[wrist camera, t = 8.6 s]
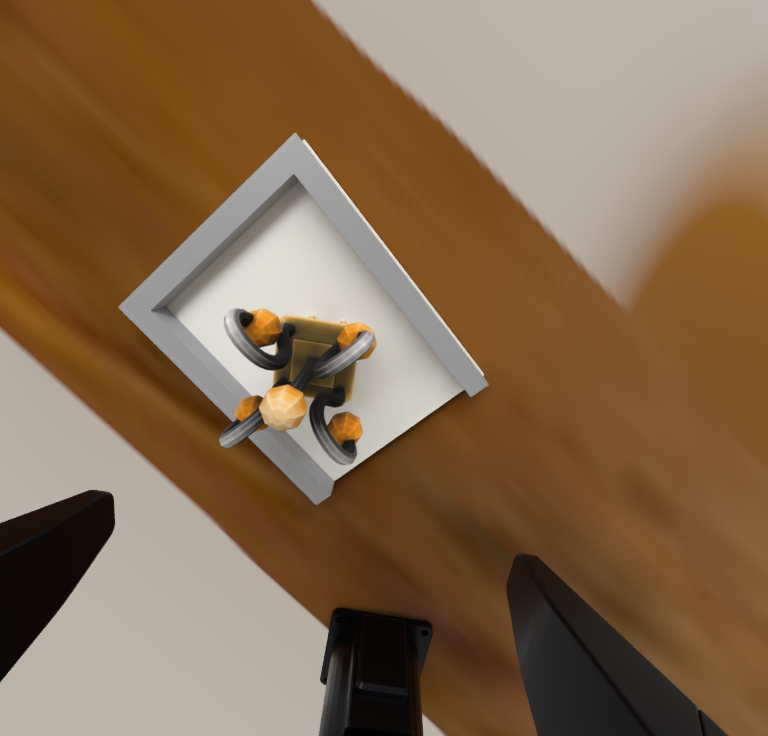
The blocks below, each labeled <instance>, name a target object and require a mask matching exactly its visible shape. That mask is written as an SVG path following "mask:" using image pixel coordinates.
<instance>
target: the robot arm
mask: <svg viewBox="0 0 768 736" xmlns="http://www.w3.org/2000/svg"><path fill="white" fill-rule="evenodd" d="M114 526H115V514H114V498H113V495H112V494H111V493H109V492H105V491H98V490H89V491H86V492H83V493H81V494H78V495H75V496H73V497H70V498H67V499H64V500H62V501H59V502H56V503H54V504H51V505H48V506H45V507H43V508H40V509H38V510H35V511H32V512H29V513H27V514H24V515H21V516H19V517H16V518H13V519H10V520H8V521H5V522H2V523H0V682H1V680H2V679H3V678H4V677H5V676H6V675H7V673H8V672H9V671H10V670H11V668H12V667H13V666H14V665H15V664H16V662H17V661H18V659H20V657H21V656H22V655H23V654H24V653H25V651H26V650H27V649H28V648H29V646H30V645H31V644H32V643H33V641H34V640H35V639H36V638H37V636H38V635H39V634H40V633H41V632H42V630H43V629H44V628H45V627H46V625H47V624H48V623H49V622H50V621H51V619H52V618H53V617H54V616H55V614H56V613H57V612H58V611H59V609H60V608H61V607H62V605H63V604H64V603H65V601H66V600H67V599H68V597H69V595H70V594H71V593H72V592H73V590H74V589H75V587H76V586H77V584H78V583H79V581H80V580H81V579H82V577H83V576H84V574H85V573H86V571H87V570H88V568H89V567H90V565H91V564H92V562H93V561H94V560H95V558H96V556H97V555H98V554H99V552H100V551H101V549H102V548H103V546H104V545H105V543H106V542H107V541H108V539H109V538H110V536H111V534H112V532H113V530H114ZM507 597H508V602H509V608H510V614H511V620H512V626H513V631H514V637H515V643H516V649H517V655H518V660H519V665H520V670H521V674H522V678H523V682H524V686H525V689H526V693H527V697H528V701H529V704H530V708H531V712H532V715H533V719H534V723H535V726H536V730H537V734H538V736H728V735H727V734H726V733H725V732H724V731H723V730H722V729H721V728H720V727H719V726H718V725H717V724H716V723H715V722H713V721H712V720H711V719H710V718H709V717H708V716H707V715H706V714H705V713H704V712H703V711H701V710H698V709H697V706H696V705H695V704H694V703H693V702H692V701H691V700H690V699H689V698H688V697H687V696H686V695H684V694H683V693H682V692H681V691H680V690H679V689H678V688H677V687H676V686H675V685H674V684H673V683H672V682H671V681H670V680H668V679H667V678H666V677H665V676H664V675H663V674H662V673H661V672H660V671H659V670H658V669H657V668H656V667H655V666H654V665H652V664H651V663H650V662H649V661H648V660H647V659H646V658H645V657H644V656H643V655H642V654H641V653H640V652H639V651H638V650H636V649H635V648H634V647H633V646H632V645H631V644H630V643H629V642H628V641H627V640H626V639H625V638H624V637H623V636H621V635H620V634H619V633H618V632H617V631H616V630H615V629H614V628H613V627H612V626H611V625H610V624H609V623H608V622H607V621H605V620H604V619H603V618H602V617H601V616H600V615H599V614H598V613H597V612H596V611H595V610H594V609H593V608H592V607H591V606H589V605H588V604H587V603H586V602H585V601H584V600H583V599H582V598H581V597H580V596H579V595H578V594H577V593H576V592H575V591H573V590H572V589H571V588H570V587H569V586H568V585H567V584H566V583H565V582H564V581H563V580H562V579H561V578H560V577H559V576H557V575H556V574H555V573H554V572H553V571H552V570H551V569H550V568H549V567H548V566H547V565H546V564H545V563H544V562H543V561H541V560H540V559H539V558H538V557H537V556H535V555H529V554H523V553H519V554H517V555H516V557H515V559H514V562H513V565H512V568H511V571H510V574H509V577H508V581H507ZM432 634H433V632H432V625H431V624H430V623H429V622H426V621H420V620H414V619H408V618H401V617H395V616H388V615H382V614H375V613H369V612H363V611H356V610H350V609H343V608H337V609H335V610H333V612H332V617H331V622H330V628H329V633H328V640H327V645H326V650H325V656H324V661H323V666H322V672H321V678H320V681H321V683H323V684H324V685H326V692H325V698H324V705H323V711H322V718H321V725H320V731H319V736H423V724H422V708H421V692H420V675H421V672H422V668H423V665H424V661H425V658H426V655H427V651H428V648H429V644H430V641H431V638H432Z"/></svg>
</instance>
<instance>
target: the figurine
mask: <svg viewBox="0 0 768 736" xmlns="http://www.w3.org/2000/svg"><path fill="white" fill-rule="evenodd" d="M224 328H225V330H226V333H227V335H228V337H229V338H230V340H231V341H232V343H233V344H234V346H235V347H236V348H237V349H238V350H239V351H240V352H241V354H243V355H244V356H245V357H246V358H247V359H248V360H249V361H250V362H252V363H253V364H255V365H256V366H258V367H260V368H262V369H265V370H270V371H274V375H273V386H272V388H271V389H269V390H268V391H267V393H266V395H265V397H264V398H263V397H261V396H259V395H256V396H251V397H247V398H244V399H242V400H241V402H240V404H239V406H238V408H237V409H236V411H235V417H236V420H235V421H234V422H233V423H232V424H230V425H229V426H228V427H227V428H226V429H225V430H224V431H223V433H222V434H221V436H220V438H219V441H220V444H221V446H223V447H225V448H228V447H231V446H234V445H236V444H238V443H240V442H241V441H243V440H244V439H245V438H247V437H248V436H250V435H251V434H252V433H253V432H257V431H261V430H265V429H266V428H267V427H268V425H269V426H271V427H272V428H274V429H276V430H278V431H284V430H289V429H294V428H296V427H298V426H299V424H300V423H301V421H302V420H303V418H304V416H305V415H306V413H307V409H308V407H307V404H306V401H305V398H304V397H308V398H314V400H313V401H312V403H311V405H310V408H309V419H310V424H311V427H312V430H313V432H314V435H315V437H316V439H317V441H318V442H319V444H320V445H321V447H322V448H323V450H324V451H325V452H326V453H327V455H328V456H329V457H330V458H331V459H332V460H334V461H335V462H336V463H338V464H340V465H348V464H352V463H353V462H354V460H355V459H356V457H357V447H356V443H357V442H358V440H359V439H360V437H361V436H362V434H363V430H362V426H361V422H360V419H359V417H357V416H355V415H353V414H352V413H350V412H348V411H347V412H342V413H337V414H335V415H334V416H333V417H332V419H331V420H330V422H329V423H328V425H327V424H326V422H325V417H324V409H325V406H329V407H333V408H336V407H340V406H343V404H344V403H347V402H348V401H350V400H351V399H352V394H353V387H354V381H355V374H356V367H357V361H358V360H362V359H367V358H369V357H370V355H371V354H372V352H373V350H374V349H375V347H376V346H377V342H376V338H375V334H374V330H373V329H372V328H370V327H368V326H367V325H365V324H363V323H362V322H356V323H352V324H348V323H347V322H346V321H345V320H342V321H341V322H339V323H337V322H331V321H325V320H319V319H317V318H316V317H315V316H314V315H310V316H309V317H308V318H307V317H301V316H295V315H289V314H284V315H283V316H282V317H280V318H278V316H277V315H275V314H274V313H272V312H270V311H268V310H267V309H265V308H262V309H258V310H253V311H249V312H248V311H246V310H244V309H239V308H234V309H230V310H229V311H228V312H227V313H226V315H225V317H224ZM275 343H276V350H275V355H271V354H268V353H266V352H264V351H263V350H262V349H260V348H261V347H266V346H270V345H275Z"/></svg>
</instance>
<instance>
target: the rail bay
mask: <svg viewBox="0 0 768 736" xmlns="http://www.w3.org/2000/svg"><path fill="white" fill-rule="evenodd" d="M118 308H119V309H120V310H121V311H122V312H123V313H124V314H125V315H126V316H127V317H128V318H129V319H130V320H131V321H132V322H133V323H134V324H135V325H136V326H137V327H138V328H139V329H140V330H141V331H142V332H143V333H144V334H145V335H146V336H147V337H148V338H149V339H150V340H151V341H152V342H153V343H154V344H155V345H156V346H157V347H158V348H159V349H160V350H161V351H162V352H163V353H164V354H165V355H166V356H167V357H168V358H169V359H170V360H171V361H172V362H173V363H174V364H175V365H176V366H177V367H178V368H179V369H180V370H181V371H182V372H183V373H184V374H185V375H186V376H187V377H188V378H189V379H190V380H191V381H192V382H193V383H194V384H195V385H196V386H197V387H198V388H199V389H200V390H201V391H202V392H203V393H204V394H205V395H206V396H207V397H208V398H209V399H210V400H211V401H212V402H213V403H214V404H215V405H216V406H217V407H218V408H219V409H220V410H221V411H222V412H223V413H224V414H225V415H226V416H227V417H228V418H229V419H230V420H231V421H232V422H234V421H235V420H236V417H235V411H236V409H237V408H238V406H239V404H240V402H241V400H242V399H244V398H247V397H251V396H256V395H259V396H261V397H263V398H264V397H265V395H266V393H267V391H268V390H269V389H271V388H272V386H273V375H274V371H270V370H265V369H262V368H260V367H258V366H256V365H255V364H253V363H252V362H250V361H249V360H248V359H247V358H246V357H245V356H244V355H243V354H241V352H240V351H239V350H238V349H237V348H236V347H235V346H234V344H233V343H232V341H231V340H230V338H229V337H228V335H227V333H226V330H225V328H224V317H225V315H226V313H227V312H228V311H229V310H230V309H234V308H239V309H244V310H246V311H248V312H249V311H253V310H258V309H262V308H265V309H267V310H268V311H270V312H272V313H274V314H275V315H277V316H278V318H280V317H282V316H283V315H284V314H289V315H295V316H301V317H307V318H308V317H309V316H310V315H314V316H315V317H316V318H317V319H319V320H325V321H331V322H337V323H339V322H341V321H342V320H345V321H346V322H347V323H348V324H352V323H356V322H362V323H363V324H365V325H367V326H368V327H370V328H372V329H373V330H374V334H375V338H376V342H377V346H376V347H375V349H374V350H373V352H372V354H371V355H370V357H369V358H367V359H362V360H358V361H357V367H356V374H355V381H354V387H353V394H352V399H351V400H350V401H348V402H347V403H344V404H343V406H340V407H336V408H333V407H329V406H325V409H324V417H325V422H326V424H327V425H328V423H329V422H330V420H331V419H332V417H333V416H334V415H335V414H337V413H342V412H347V411H348V412H350V413H352V414H353V415H355V416H357V417H359V419H360V422H361V426H362V430H363V434H362V436H361V437H360V439H359V440H358V442H357V443H356V447H357V457H356V459H355V460H354V462H353V463H352V464H348V465H340V464H338V463H336V462H335V461H334V460H332V459H331V458H330V457H329V456H328V455H327V453H326V452H325V451H324V450H323V448H322V447H321V445H320V444H319V442H318V441H317V439H316V437H315V435H314V432H313V430H312V427H311V424H310V419H309V408H310V405H311V403H312V401H313V400H314V398H308V397H304V398H305V401H306V404H307V407H308V409H307V413H306V415H305V416H304V418H303V420H302V421H301V423H300V424H299V426H298V427H296V428H294V429H289V430H284V431H278V430H276V429H274V428H272V427H271V426H269V425H268V427H267V428H266V429H265V430H261V431H257V432H253V433H252V434H251V435H250V436H248V438H249V439H250V440H251V441H252V442H253V443H254V444H255V445H256V446H257V447H258V448H259V449H260V450H261V451H262V452H263V453H264V454H265V455H266V456H267V457H268V458H269V459H270V460H271V461H272V462H273V463H274V464H275V465H276V466H277V467H278V468H279V469H280V470H281V471H282V472H283V473H284V474H285V475H286V476H287V477H288V478H289V479H290V480H291V481H292V482H293V483H294V484H295V485H296V486H297V487H298V488H299V489H300V490H301V491H302V492H303V493H304V494H305V495H306V496H307V497H308V498H309V499H310V500H311V501H312V502H313V503H314V504H315V505H318V504H319V503H320V502H322V501H323V500H325V499H326V498H328V497H329V496H330V495H331V493H332V489H333V485H334V481H335V480H337V479H338V478H340V477H341V476H343V475H344V474H345V473H347V472H348V471H350V470H351V469H352V468H354V467H355V466H357V465H358V464H360V463H361V462H362V461H364V460H365V459H367V458H368V457H369V456H371V455H372V454H374V453H375V452H376V451H378V450H379V449H381V448H382V447H384V446H385V445H386V444H388V443H389V442H391V441H392V440H393V439H395V438H396V437H398V436H399V435H401V434H402V433H403V432H405V431H406V430H408V429H409V428H410V427H412V426H413V425H415V424H416V423H417V422H419V421H420V420H422V419H423V418H425V417H426V416H427V415H429V414H430V413H432V412H433V411H434V410H436V409H437V408H439V407H440V406H442V405H443V404H444V403H446V402H447V401H449V400H450V399H451V398H453V397H454V396H456V395H457V394H458V393H460V392H461V391H463V390H464V389H465V391H466V392H467V393H468V395H469V396H470V397H472V396H473V395H475V394H476V393H478V392H479V391H481V390H482V389H483V388H485V387H486V386H488V385H489V384H488V383H487V381H486V380H485V378H484V377H483V376H484V373H483V372H482V371H481V369H480V368H479V367H478V365H477V364H476V363H475V361H474V360H473V359H472V357H471V356H470V355H469V354H468V352H467V351H466V350H465V348H464V347H463V346H462V344H461V343H460V342H459V340H458V339H457V338H456V337H455V335H454V334H453V333H452V331H451V330H450V329H449V327H448V326H447V325H446V324H445V322H444V321H443V320H442V318H441V317H440V316H439V314H438V313H437V312H436V310H435V309H434V308H433V307H432V305H431V304H430V303H429V301H428V300H427V299H426V297H425V296H424V295H423V293H422V292H421V291H420V290H419V288H418V287H417V286H416V284H415V283H414V282H413V280H412V279H411V278H410V276H409V275H408V274H407V273H406V271H405V270H404V269H403V267H402V266H401V265H400V263H399V262H398V261H397V259H396V258H395V257H394V256H393V254H392V253H391V252H390V250H389V249H388V248H387V246H386V245H385V244H384V242H383V241H382V240H381V239H380V237H379V236H378V235H377V233H376V232H375V231H374V229H373V228H372V227H371V226H370V224H369V223H368V222H367V220H366V219H365V218H364V216H363V215H362V214H361V212H360V211H359V210H358V209H357V207H356V206H355V205H354V203H353V202H352V201H351V199H350V198H349V197H348V195H347V194H346V193H345V192H344V190H343V189H342V188H341V186H340V185H339V184H338V182H337V181H336V180H335V178H334V177H333V176H332V175H331V173H330V172H329V171H328V169H327V168H326V167H325V165H324V164H323V163H322V161H321V160H320V159H319V158H318V156H317V155H316V154H315V152H314V151H313V150H312V148H311V147H310V146H309V145H308V143H307V142H306V141H305V140H303V141H302V140H301V139H300V138H299V136H298V135H297V134H296V133H294V134H293V135H292V136H291V137H290V138H289V139H288V140H287V141H286V142H285V143H284V144H283V145H282V146H281V147H280V148H279V149H278V150H277V151H276V152H275V153H274V154H273V155H272V156H271V157H270V158H269V159H268V160H267V161H266V162H265V163H264V164H263V165H262V166H261V167H260V168H259V169H258V170H257V171H256V172H255V173H254V174H253V175H252V176H251V177H250V178H249V179H248V180H247V181H246V182H245V183H244V184H243V185H242V186H241V187H239V188H238V189H237V190H236V191H235V192H234V193H233V194H232V195H231V196H230V197H229V198H228V199H227V200H226V201H225V202H224V203H223V204H222V205H221V206H220V207H219V208H218V209H217V210H216V211H215V212H214V213H213V214H212V215H211V216H210V217H209V218H208V219H207V220H206V221H205V222H204V223H203V224H202V225H201V226H200V227H199V228H198V229H197V230H196V231H195V232H194V233H193V234H192V235H191V236H190V237H189V238H188V239H187V240H186V241H185V242H184V243H183V244H182V245H181V246H180V247H179V248H178V249H177V250H176V251H175V252H174V253H173V254H171V255H170V256H169V257H168V258H167V259H166V260H165V261H164V262H163V263H162V264H161V265H160V266H159V267H158V268H157V269H156V270H155V271H154V272H153V273H152V274H151V275H150V276H149V277H148V278H147V279H146V280H145V281H144V282H143V283H142V284H141V285H140V286H139V287H138V288H137V289H136V290H135V291H134V292H133V293H132V294H131V295H130V296H129V297H128V298H127V299H126V300H125V301H124V302H123V303H122V304H121V305H120V306H119V307H118ZM260 349H262V350H263V351H264V352H266V353H268V354H271V355H275V350H276V343H275V345H270V346H266V347H261V348H260Z"/></svg>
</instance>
